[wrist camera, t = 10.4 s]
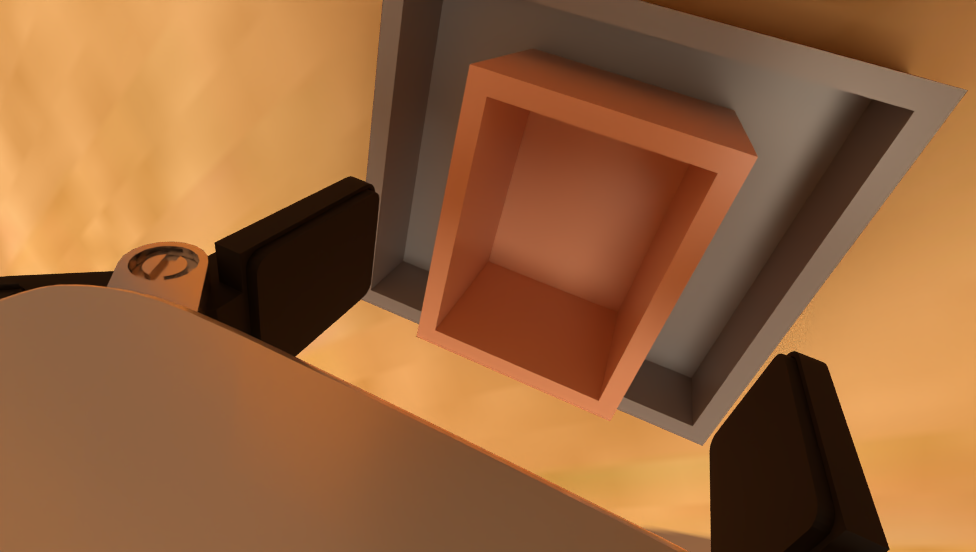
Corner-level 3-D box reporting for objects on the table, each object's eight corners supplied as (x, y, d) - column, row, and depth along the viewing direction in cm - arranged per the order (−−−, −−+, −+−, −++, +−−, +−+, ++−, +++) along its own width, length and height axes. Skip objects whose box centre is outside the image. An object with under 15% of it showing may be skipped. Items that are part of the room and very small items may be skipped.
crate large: (439, -55, 17) (389, -69, 14) (909, 74, 14) (968, 90, 11) (394, 262, 24) (355, 296, 21) (700, 386, 21) (702, 445, 18)
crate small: (533, 48, 17) (470, 64, 12) (734, 110, 16) (758, 157, 11) (477, 261, 22) (416, 336, 17) (627, 321, 20) (610, 421, 15)
